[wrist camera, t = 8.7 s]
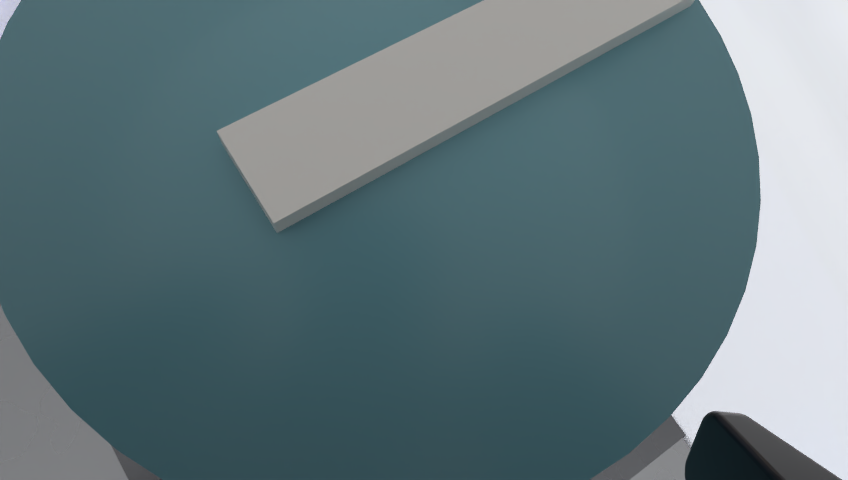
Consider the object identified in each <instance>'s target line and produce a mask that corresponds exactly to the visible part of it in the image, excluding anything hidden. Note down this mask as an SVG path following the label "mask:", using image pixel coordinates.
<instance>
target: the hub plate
mask: <svg viewBox="0 0 848 480" xmlns="http://www.w3.org/2000/svg"><path fill="white" fill-rule="evenodd" d="M684 436H685V434H684V432H683V431H682V429H681V428H680V427H679V425H678V424H677V423H676V421H675V420H674V419H673V417H672V416H671V415H670V417H669V418H668V419H667V420H666V421H664V422H663V423H662V424H661V425H660V426H659V427H658V428H657V429H656V430H654V431H653V432H652V433H651V434H650V435H649V436H648V437H647V438H646V439H644V440H643V441H642V442H641V443H640V444H639V445H638V446H637V447H636V448H634V449H633V450H632V451H631V452H630V453H629V454H627V455H626V456H624V457H623V458H621V459H620V460H618V461H617V462H615V463H614V464H612V465H611V466H609V467H608V468H606V469H605V470H603V471H602V472H600V473H599V474H597V475H596V476H594V477H593V478H591V479H590V480H685V463H686V459H687V457H688V454H689V452H690V447H689V446H688V445H687V443H686V442H685V441H684V439H683V437H684ZM0 480H162V479H161V478H159V477H158V476H156V475H155V474H153V473H151V472H150V471H148V470H147V469H145V468H144V467H142V466H141V465H139V464H138V463H136V462H135V461H133V460H132V459H130V458H128V457H127V456H125V455H124V454H122V453H121V452H119V451H118V450H116V449H115V448H114V447H113V446H112V445H110V444H109V443H108V442H107V441H106V440H105V439H104V438H103V437H101V436H100V435H99V434H98V433H97V432H96V431H95V430H94V429H92V428H91V427H90V426H89V425H88V424H87V423H86V422H85V421H84V420H82V419H81V418H80V417H79V416H78V415H77V414H76V413H75V412H73V411H72V410H71V409H70V408H69V406H68V405H67V404H66V403H65V402H64V400H63V399H62V398H61V397H60V395H59V394H58V393H57V392H56V391H55V389H54V388H53V387H52V386H51V385H50V383H49V382H48V381H47V380H46V378H45V377H44V376H43V375H42V374H41V372H40V371H39V370H38V369H37V368H36V366H35V365H34V364H33V362H32V360H31V359H30V357H29V355H28V354H27V352H26V350H25V349H24V347H23V345H22V343H21V342H20V340H19V338H18V337H17V335H16V333H15V332H14V330H13V328H12V326H11V325H10V323H9V321H8V320H7V318H6V316H5V314H4V312H3V309H2V306H1V304H0Z"/></svg>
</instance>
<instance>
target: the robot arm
mask: <svg viewBox="0 0 848 480" xmlns="http://www.w3.org/2000/svg"><path fill="white" fill-rule="evenodd" d="M685 480H841V479H840V478H838V477H837V476H836V475H834V474H833V473H831V472H830V471H828V470H827V469H825V468H824V467H822V466H821V465H819V464H818V463H816V462H815V461H813V460H812V459H810V458H809V457H807V456H806V455H804V454H803V453H801V452H800V451H798V450H797V449H795V448H794V447H792V446H791V445H789V444H788V443H786V442H785V441H783V440H782V439H780V438H779V437H777V436H776V435H774V434H773V433H771V432H770V431H768V430H767V429H766V428H764V427H763V426H761V425H760V424H758V423H757V422H755V421H754V420H752V419H751V418H749V417H747V416H746V415H743V414H740V413H730V412H719V411H713V412H710V413H708V414H707V415H706V416H705V417H704V418H703V420H702V422H701V425H700V427H699V430H698V432H697V434H696V437H695V439H694V442H693V444H692V447H691V449H690V452H689V454H688V457H687V459H686V463H685Z"/></svg>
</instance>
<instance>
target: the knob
mask: <svg viewBox="0 0 848 480" xmlns="http://www.w3.org/2000/svg"><path fill="white" fill-rule="evenodd" d="M760 201H761V200H760V176H759V156H758V150H757V145H756V139H755V134H754V128H753V123H752V117H751V113H750V110H749V106H748V103H747V100H746V97H745V94H744V91H743V87H742V84H741V81H740V78H739V75H738V72H737V70H736V68H735V66H734V64H733V62H732V59H731V57H730V55H729V53H728V51H727V48H726V46H725V44H724V42H723V40H722V38H721V35H720V34H719V32H718V31H717V29H716V27H715V26H714V24H713V22H712V21H711V19H710V18H709V16H708V14H707V13H706V11H705V9H704V8H703V6H702V5H701V3H700V1H699V0H21V2H20V4H19V5H18V7H17V8H16V10H15V12H14V13H13V15H12V17H11V18H10V20H9V21H8V23H7V25H6V28H5V30H4V32H3V35H2V37H1V39H0V304H1V306H2V309H3V312H4V314H5V316H6V318H7V320H8V321H9V323H10V325H11V326H12V328H13V330H14V332H15V333H16V335H17V337H18V338H19V340H20V342H21V343H22V345H23V347H24V349H25V350H26V352H27V354H28V355H29V357H30V359H31V360H32V362H33V364H34V365H35V366H36V368H37V369H38V370H39V371H40V372H41V374H42V375H43V376H44V377H45V378H46V380H47V381H48V382H49V383H50V385H51V386H52V387H53V388H54V389H55V391H56V392H57V393H58V394H59V395H60V397H61V398H62V399H63V400H64V402H65V403H66V404H67V405H68V406H69V408H70V409H71V410H72V411H73V412H75V413H76V414H77V415H78V416H79V417H80V418H81V419H82V420H84V421H85V422H86V423H87V424H88V425H89V426H90V427H91V428H92V429H94V430H95V431H96V432H97V433H98V434H99V435H100V436H101V437H103V438H104V439H105V440H106V441H107V442H108V443H109V444H110V445H112V446H113V447H114V448H115V449H116V450H118V451H119V452H121V453H122V454H124V455H125V456H127V457H128V458H130V459H132V460H133V461H135V462H136V463H138V464H139V465H141V466H142V467H144V468H145V469H147V470H148V471H150V472H151V473H153V474H155V475H156V476H158V477H159V478H161V479H162V480H590V479H591V478H593V477H594V476H596V475H597V474H599V473H600V472H602V471H603V470H605V469H606V468H608V467H609V466H611V465H612V464H614V463H615V462H617V461H618V460H620V459H621V458H623V457H624V456H626V455H627V454H629V453H630V452H631V451H632V450H633V449H634V448H636V447H637V446H638V445H639V444H640V443H641V442H642V441H643V440H644V439H646V438H647V437H648V436H649V435H650V434H651V433H652V432H653V431H654V430H656V429H657V428H658V427H659V426H660V425H661V424H662V423H663V422H664V421H666V420H667V419H668V418H669V417H670V415H671V414H672V413H673V412H674V411H675V409H676V408H677V407H678V406H679V405H680V403H681V402H682V401H683V400H684V398H685V397H686V396H687V395H688V394H689V392H690V391H691V390H692V389H693V387H694V386H695V385H696V384H697V383H698V381H699V380H700V379H701V378H702V376H703V374H704V373H705V371H706V369H707V368H708V366H709V364H710V363H711V361H712V359H713V358H714V356H715V354H716V353H717V351H718V349H719V348H720V346H721V344H722V343H723V341H724V339H725V338H726V336H727V334H728V331H729V329H730V326H731V324H732V322H733V319H734V317H735V314H736V312H737V309H738V307H739V304H740V302H741V300H742V297H743V295H744V292H745V289H746V285H747V281H748V277H749V273H750V269H751V265H752V261H753V257H754V253H755V248H756V242H757V232H758V222H759V212H760Z"/></svg>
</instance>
